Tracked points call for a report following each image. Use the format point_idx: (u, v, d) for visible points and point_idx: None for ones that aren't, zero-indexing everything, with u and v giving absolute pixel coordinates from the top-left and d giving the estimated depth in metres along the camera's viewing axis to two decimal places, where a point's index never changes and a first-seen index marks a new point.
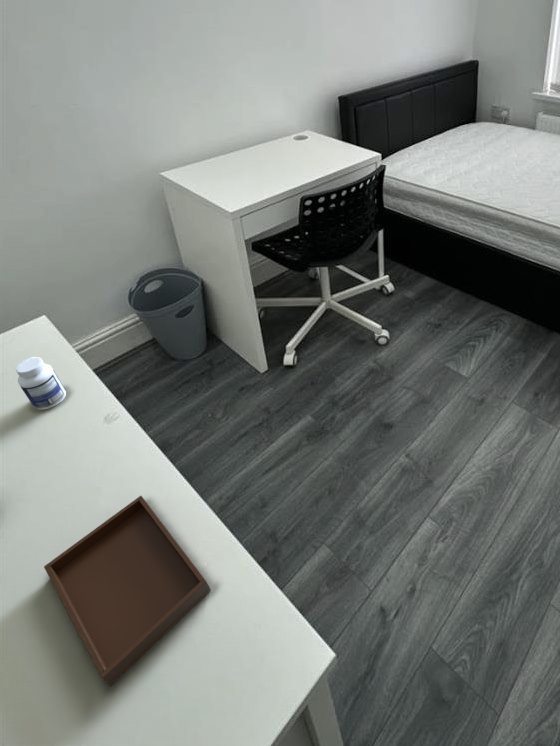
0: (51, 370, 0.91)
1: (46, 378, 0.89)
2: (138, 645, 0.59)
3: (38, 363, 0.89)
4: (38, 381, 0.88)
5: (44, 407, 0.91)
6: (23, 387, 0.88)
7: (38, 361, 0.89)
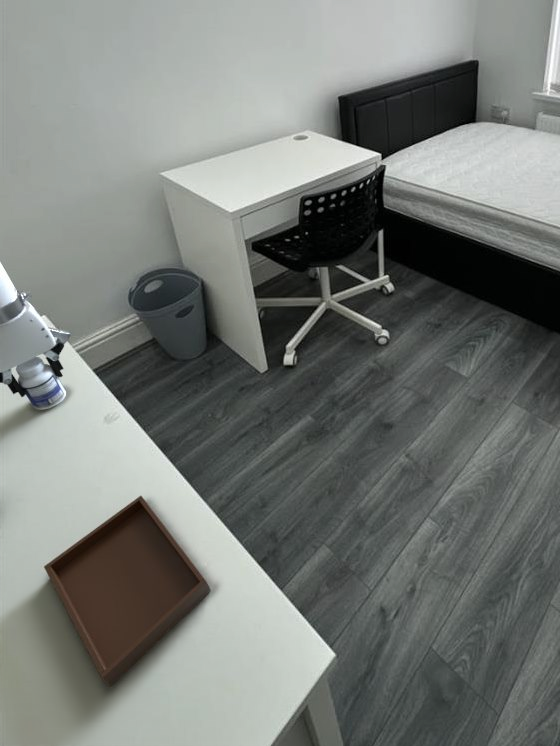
0: (51, 370, 0.91)
1: (46, 378, 0.89)
2: (138, 645, 0.59)
3: (38, 363, 0.89)
4: (38, 381, 0.88)
5: (44, 407, 0.91)
6: (23, 387, 0.88)
7: (38, 361, 0.89)
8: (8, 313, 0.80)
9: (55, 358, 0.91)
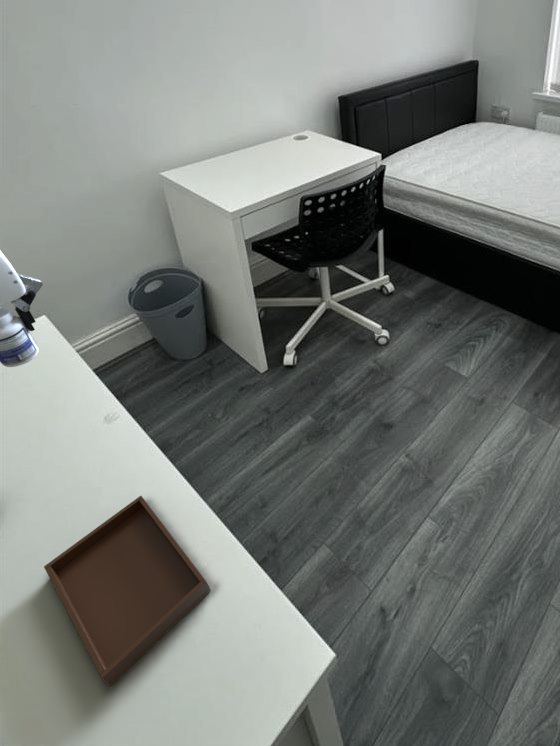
0: (21, 322, 0.81)
1: (15, 330, 0.79)
2: (138, 645, 0.59)
3: (6, 313, 0.79)
4: (6, 333, 0.78)
5: (13, 364, 0.81)
6: None
7: (6, 311, 0.79)
8: None
9: (25, 308, 0.81)
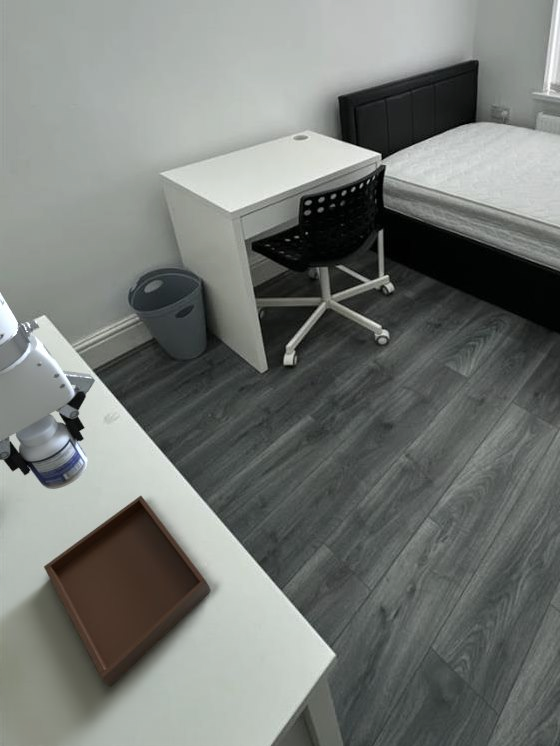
0: (67, 432, 0.62)
1: (60, 445, 0.61)
2: (138, 645, 0.59)
3: (49, 424, 0.60)
4: (49, 450, 0.60)
5: (57, 485, 0.63)
6: (27, 460, 0.60)
7: (49, 421, 0.61)
8: (4, 357, 0.52)
9: (73, 415, 0.62)
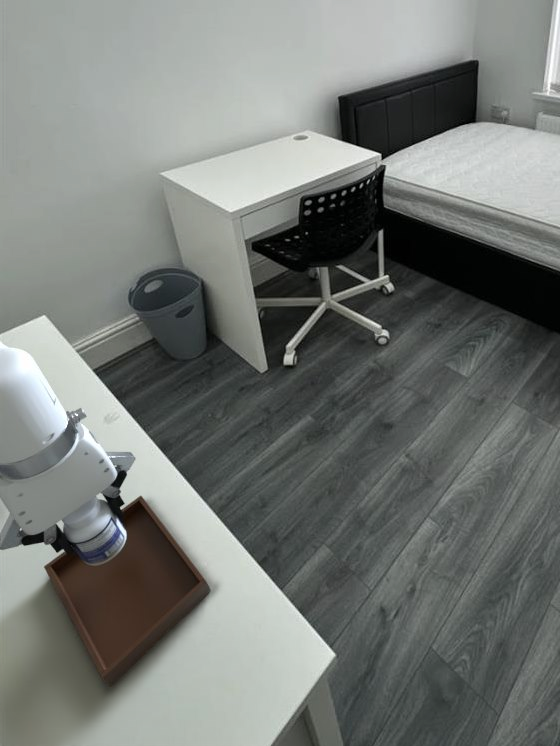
0: (109, 510, 0.63)
1: (103, 525, 0.62)
2: (138, 645, 0.59)
3: (92, 505, 0.61)
4: (93, 531, 0.61)
5: (99, 562, 0.64)
6: (71, 541, 0.61)
7: (92, 501, 0.62)
8: (56, 453, 0.53)
9: (115, 494, 0.63)
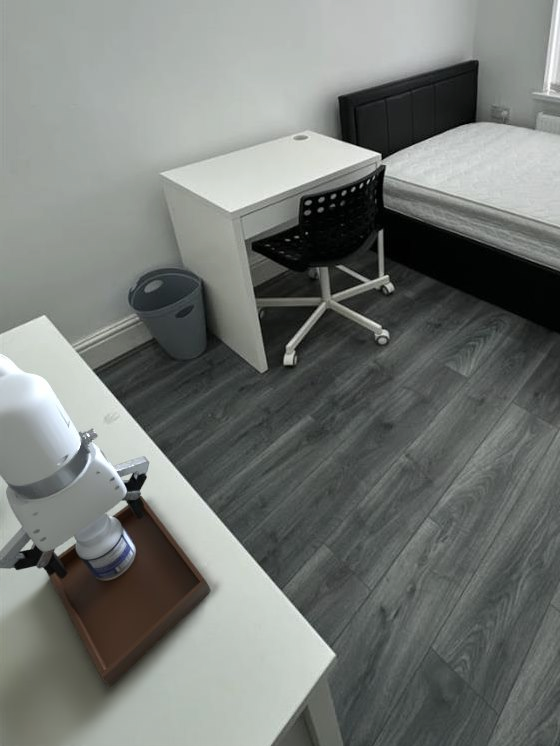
0: (119, 528, 0.66)
1: (114, 542, 0.64)
2: (138, 645, 0.59)
3: (104, 523, 0.64)
4: (104, 548, 0.63)
5: (109, 578, 0.66)
6: (83, 558, 0.63)
7: (103, 519, 0.64)
8: (69, 473, 0.55)
9: (136, 496, 0.66)
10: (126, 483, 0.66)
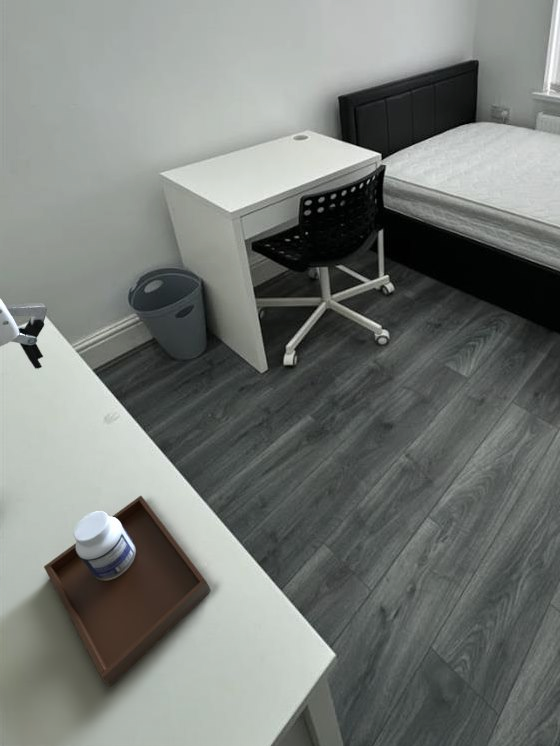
0: (120, 528, 0.66)
1: (114, 543, 0.64)
2: (138, 645, 0.59)
3: (104, 523, 0.64)
4: (104, 549, 0.63)
5: (109, 578, 0.66)
6: (83, 558, 0.63)
7: (103, 519, 0.64)
8: None
9: (31, 341, 0.64)
10: (22, 329, 0.65)
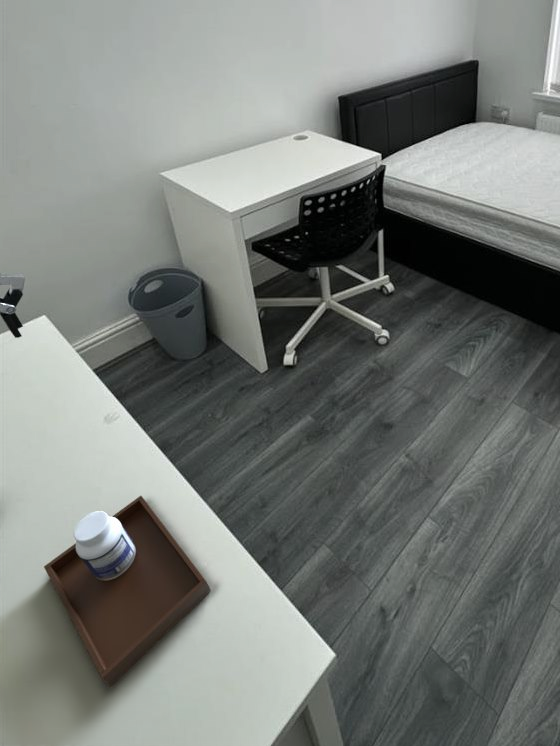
0: (120, 528, 0.66)
1: (114, 543, 0.64)
2: (138, 645, 0.59)
3: (104, 523, 0.64)
4: (104, 549, 0.63)
5: (109, 578, 0.66)
6: (83, 558, 0.63)
7: (103, 519, 0.64)
8: None
9: (10, 310, 0.66)
10: (1, 299, 0.67)
